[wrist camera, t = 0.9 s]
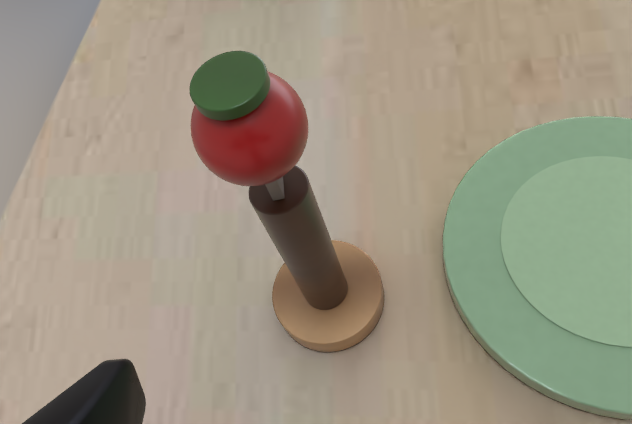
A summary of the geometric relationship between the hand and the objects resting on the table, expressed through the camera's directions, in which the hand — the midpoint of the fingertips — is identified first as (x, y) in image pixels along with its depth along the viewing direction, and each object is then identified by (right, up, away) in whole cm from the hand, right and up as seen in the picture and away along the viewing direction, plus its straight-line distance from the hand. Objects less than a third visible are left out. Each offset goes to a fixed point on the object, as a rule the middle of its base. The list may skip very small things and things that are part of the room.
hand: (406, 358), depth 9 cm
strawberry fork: (-1, -2, +17) cm, 17 cm away
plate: (+11, 0, +16) cm, 19 cm away
